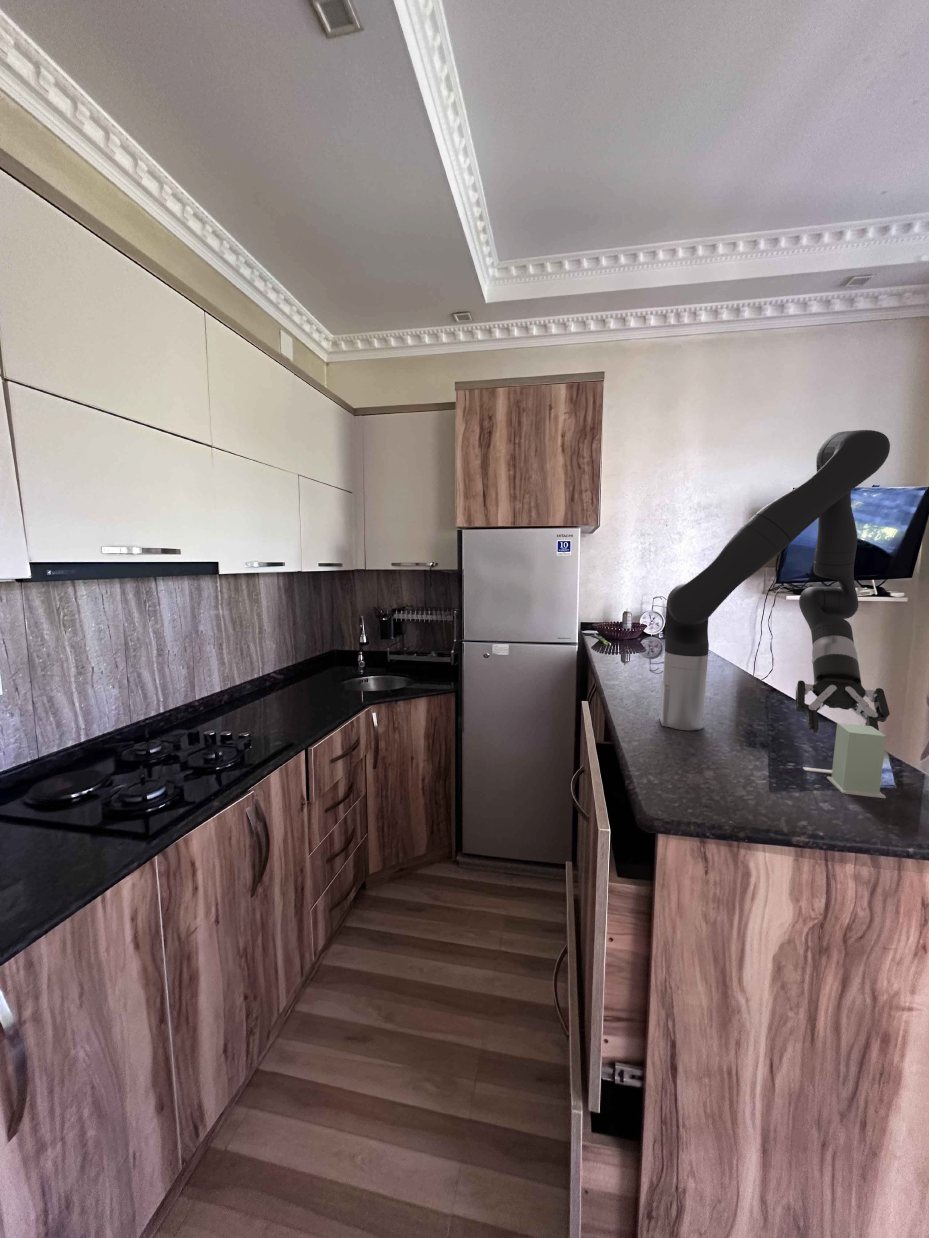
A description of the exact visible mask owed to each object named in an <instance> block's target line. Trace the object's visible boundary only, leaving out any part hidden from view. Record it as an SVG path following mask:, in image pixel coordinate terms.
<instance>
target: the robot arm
mask: <svg viewBox="0 0 929 1238" xmlns="http://www.w3.org/2000/svg"><path fill="white" fill-rule="evenodd" d="M890 451H891V442H890V439H889V437H888V436H887V435H886V434H885V433H883V432H881V431H878V430H872V429H859V430H847V431H846V430H845V431H839V432H836V433H833V434H831V435H830V436H828V437H827V438H826V439H825V440H823V442H822V443H821V444H820V446H819V447H818V451H817V453H816V460H815V461H816V463H815V464H816V466H815V468H816V472H815V473H814V474H813V475H812V476H811V477H809V479H807V480H806V481H805V482H803V483H802V484H800V485H799V486H796V487H795V488H794V489H792V490H790V491H788V492H786V493H785V494H783V495H781V496H779V497H778V498H776V499H774V500H772V501H771V502H770V503H768V504H766V505H765V506H763V507H762V508H761V509H759V510H758V511H757V512H756V513H755V514H754V515H753V516H752V517H751V518H749V519H748V521H746V523H744V524H743V525H742V526H741V527H740V528H739V529H738V530H737V531H736V533H734V535H733V536H732V537H731V538H730V539H729V541H727V543H726V544H725V546H724V547H723V549H722V550H721V551H720V552H719V553H718V555H717V556H716V558H714V560H713V561H712V562H711V563H710V564H709V565H708V566H707V567H706V568H704V569H702V571H701V572H700V573H698V574H697V575H696V576H695V577H693V578H692V579H691V580H689V581H688V582H686V583H681V584H678V585H676V587H674V588H673V589H672V590H671V591H670V592H669V593H668V596H667V598H666V606H665V621H664V625H665V626H664V627H665V628H664V658H663V670H662V671H663V672H662V673H663V674H662V680H661V681H660V682H661V686H660V699H659V701H660V702H659V716H658V718H659V719H658V720H659V722H660V724H661V726H662V727H668V728H671V729H675V730H680V731H699V730H702V729H703V728H704V720H705V716H704V715H705V703H706V691H707V677H708V676H707V673H708V664H709V663H708V661H709V660H708V659H709V648H710V644H709V633H708V632H709V631H708V630H709V618H710V617H712V614H714V613H715V612H716V610H717V609H718V608H719V607H720V606H721V605H722V603H723V602H725V600H726V599H727V598H728V597H729V596H730V595H731V594H732V593H733V592H734V590H735V589H737V588H739V586H740V585H741V584H742V583H743V582H745V581H746V580H748V579H749V578H750V577H751V576H753V575H754V574H755V573H757V572H758V571H759V570H761V569H762V568H763V567H764V566H765V565H767V564H768V563H769V562H770V561H771V560H773V559H774V558H775V557H776V556H778V555H779V554H780V553H781V552H782V551H783V550H785V548H787V547H788V546H789V545H790V544H791V543H792V542H793V541H794V540H795V539H796V538H797V537H798V536H799V535H800V534H801V533H802V532H804V531H805V530H806V529H807V528H808V527H810V525H812V524H813V523H814V522H815V521H816V520H818V522H817V523H818V525H817V528H818V529H817V536H816V537H817V538H816V546H815V552H814V560H813V573H814V575H816V576H818V577H820V578H825V579H829V580H834V581H837V582H838V584H839V586H809V587H807V588H805V589H804V590H803V591H802V592H801V593H800V595H799V600H798V604H799V609H800V611H801V614H802V616H803V618H804V620H805V621H806V624H807V626H808V627H809V629H810V633H811V644H812V650H811V651H812V652H811V664H812V673H813V684H810V683H806V681H805V680H801V679H800V680H798V681H797V683H796V687H795V706H794V709H795V711H796V712H798V713H801V712H802V713H804V714H806V718H807V728H808V729H809V730H811V732H812V733H813V734H817V733H818V731H819V729H820V728H819V725H820V724H819V715H818V713H819V712H818V711H820V710H821V709H823V708H824V707H825V706H827V707H828V708H829V709H841V710H846V711H847V710H848V711H849V710H852V712H854V713H855V714H856V715H857V716H860V717H861V718H862V719H863V720H864V721H865V723H864V724H865V725H864V726H872V727H874V728H875V729H877V730H878V731H880V729H879V722H880V723H884V722H886V721H887V719H888V717H889V716H890V710H889V706H888V703H887V698H886V697H887V696H886V694H885V691H884V689H883V688H880V687H877V688H876V689H875V690H873V689H872V690H871V689H865V687H864V686H863V685H862V678H861V671H860V665H859V664H860V663H859V658H858V651H857V649H856V646H855V642H854V635H853V628H852V625H851V623H850V622H849V621H847V619H850V618H852V617H853V616H854V615H855V614H856V613H857V612H858V609H859V598H858V595H857V589H856V584H855V576H854V573H855V572H854V571H855V570H854V568H855V559H856V554H857V548H858V530H857V526H856V522H855V521H856V520H855V517H854V513H853V512H854V511H853V508H852V490H854V489H855V488H857V487H858V486H860V484H862V483H863V482H865V481H866V480H868V479H869V478H870V477H872V475H874V474H875V473H876V472H877V471H879V470H880V468H881V467H882V466H883V465H884V464H885V463H886V460H887V458H888V457H889V454H890ZM809 692H812V693H813V695H815V696H816V698H815V700H814V701H812V702H811V703H810V704H808V703H806V695H808V694H809ZM864 698H868V700H869V701H870V703H873V705H874V709H875V710H874V709H873V708H872V707H871V706H870V705H869V702H867V701H866V700H865V699H864Z"/></svg>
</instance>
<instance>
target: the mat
mask: <svg viewBox="0 0 929 1238" xmlns="http://www.w3.org/2000/svg"><path fill="white" fill-rule="evenodd" d="M826 779H827V780H828V781H829V782H830V783H831V784H832V785H833V786H834V787H835V788H836V789H838V790H839V792H841V794H845V795H854V796H860V797H861V796H862V797H871V798H878V799H879V798H880V799H886V797H887V796H886V795H885V794H883V793H882V792H881V791H880V793H879V795H878V794H870V793H863V792H855V791H848V790H843V789H842V788H841V787H840V786H839V785H838V784H837V783H836V782H835V781H834V780H833V779H832V776H826Z"/></svg>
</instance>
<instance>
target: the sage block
mask: <svg viewBox="0 0 929 1238" xmlns="http://www.w3.org/2000/svg"><path fill="white" fill-rule="evenodd" d="M835 731H836V732H835V739H834V740H835V741H834V748H833V749H834V751H833V760H832V768H831V770H832V774H831V777H832V779H833V780H834V781H835V782H836V783H837V784H838V785H839V786H840V787H841V788H842V789H843V790H848V791H855V792H863V793H870V794H878V795H879V793H880V792H881V785H882V784H881V783H882V779H881V777H883V776H882V774H883V767H884V766H883V765H884V759H885V750H886V740H887V736H886V735H885V734H884V733H883V732H881V731H880V730H879V731H878V730H877V729H875V728H874V727H872V726H866V725H863V724H852V723H843V722H842V723H841V722H837V723H836V730H835Z"/></svg>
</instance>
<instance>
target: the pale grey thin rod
mask: <svg viewBox="0 0 929 1238" xmlns="http://www.w3.org/2000/svg"><path fill="white" fill-rule="evenodd" d="M802 769H803V770H804V771H805V772H813V773H823V774H829V775H830V774H831V775H832V769H823V768H817V767H816V768H814V767H806V766H805V767H804V766H803V767H802ZM883 779H884V778H883V776H881V780H883Z"/></svg>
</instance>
